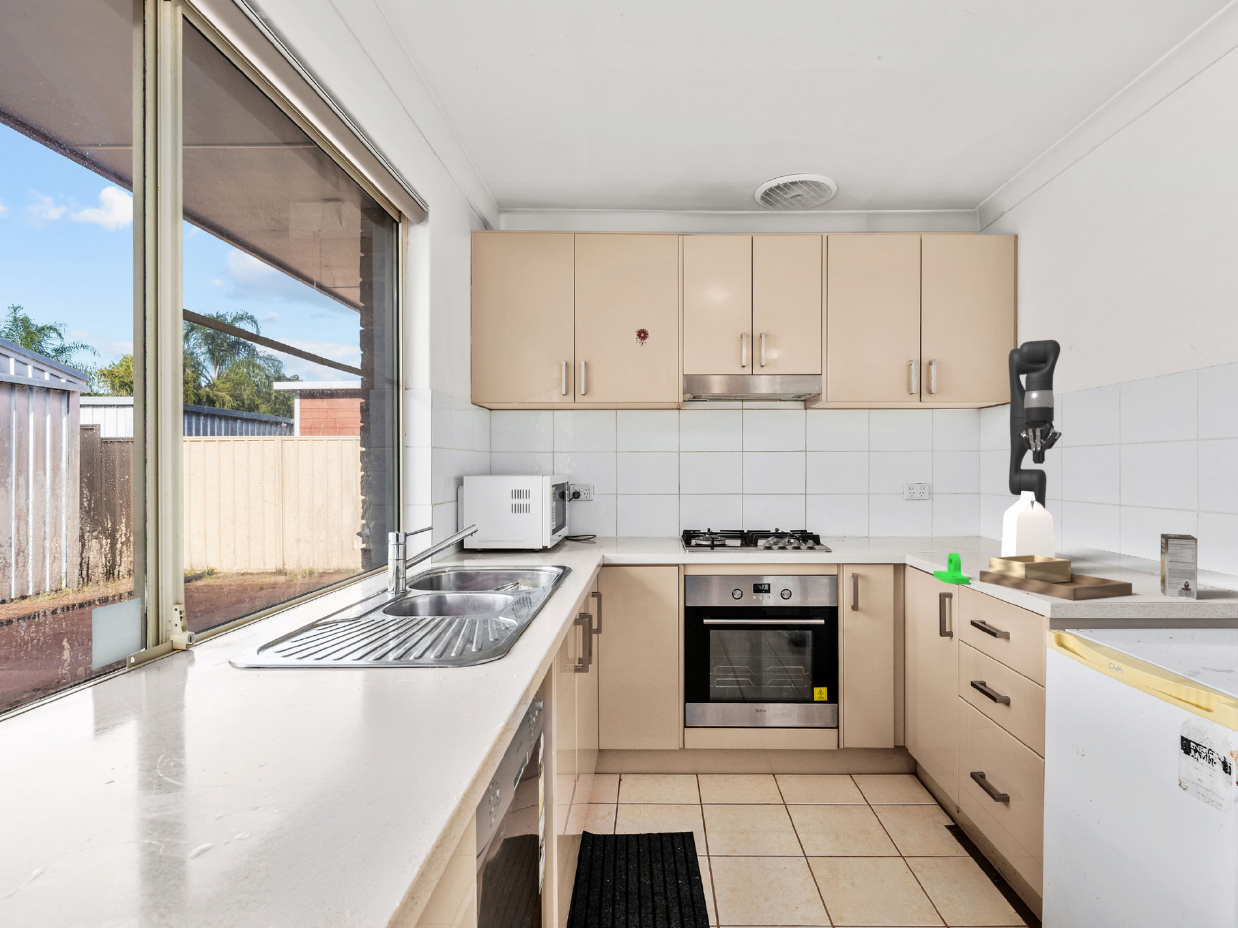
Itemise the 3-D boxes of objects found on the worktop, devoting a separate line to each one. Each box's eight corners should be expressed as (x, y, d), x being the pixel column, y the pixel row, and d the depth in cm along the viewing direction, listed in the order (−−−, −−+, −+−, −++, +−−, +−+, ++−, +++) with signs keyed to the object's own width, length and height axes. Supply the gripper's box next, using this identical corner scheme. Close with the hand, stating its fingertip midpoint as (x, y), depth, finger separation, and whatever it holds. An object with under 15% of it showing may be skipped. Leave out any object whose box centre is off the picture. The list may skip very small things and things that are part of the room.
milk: (1000, 568, 213) (1000, 490, 213) (1038, 569, 211) (1039, 490, 211) (1014, 574, 202) (1015, 492, 202) (1055, 576, 199) (1056, 492, 199)
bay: (979, 581, 191) (979, 570, 191) (1033, 576, 198) (1033, 566, 198) (1073, 600, 164) (1073, 588, 164) (1132, 594, 171) (1132, 583, 171)
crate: (988, 577, 190) (989, 557, 190) (1033, 574, 196) (1033, 554, 196) (1024, 584, 179) (1024, 563, 179) (1070, 581, 185) (1070, 560, 185)
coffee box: (1159, 591, 175) (1159, 533, 175) (1190, 594, 172) (1190, 534, 172) (1165, 597, 168) (1166, 536, 168) (1198, 600, 164) (1198, 538, 164)
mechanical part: (933, 577, 198) (933, 551, 198) (954, 577, 197) (954, 551, 197) (946, 584, 186) (947, 557, 186) (969, 585, 185) (969, 557, 185)
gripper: (1009, 407, 199) (1009, 463, 199) (1050, 404, 187) (1050, 463, 187) (1027, 408, 202) (1027, 463, 202) (1069, 405, 189) (1069, 463, 189)
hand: (1038, 463), depth 194 cm, fingers closed
